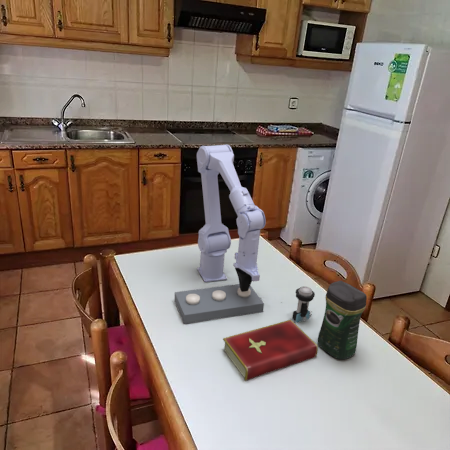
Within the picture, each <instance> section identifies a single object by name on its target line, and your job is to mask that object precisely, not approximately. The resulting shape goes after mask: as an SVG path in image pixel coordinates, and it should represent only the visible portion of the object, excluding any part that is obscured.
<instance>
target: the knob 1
mask: <svg viewBox="0 0 450 450" xmlns="http://www.w3.org/2000/svg"><path fill="white" fill-rule="evenodd" d="M186 302H187V303H188V304H189V305H196V304H198V303H199V302H200V296H199V295H197V294H188V295H187V296H186Z"/></svg>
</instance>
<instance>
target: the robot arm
mask: <svg viewBox="0 0 450 450" xmlns="http://www.w3.org/2000/svg"><path fill="white" fill-rule="evenodd" d="M234 160H235V154H234V151H233V149H232V147H231V145H229V144H226V143H225V144H217V145H201V146H199V148H198V150H197V152H196V162H197V163H196V164H197V172H198V173H200V177H201V185H202V187H201V188H202V196H203V197H202V198H203V210H204V220H205V224H204V225H203V227H201V228H200V229H199V230H198V239H197V245H198V249H199V251H200V254H199V257H200V259H199V266H198V267H197V268H196V269H197V271H198V273H199V275H200V277H201V279H202V280H203V282H204V283H208V282H209V283H210V282H217V281H225V280H227V279H228V277H227V275H226V274H225V272H224V271H225V270H224V269H225V268H224V267H225V254H226V253H227V251H228V250H230V248H231V246H232V245H231V244H232V238H231V235H230V232H229V228H228V227H227V226H226V225H224V223H222V215H221V204H220V203H221V202H220V201H221V200H220V190H219V181H218V175H219V174H220V175H221V177H222V179H223V180H224V183H225V185H226V186H227V187H228V189H229V191H230V192H229V193H230V194H229V195H228V198H229V200H230V202H231V205H232V207H233V209H234V212H235V214H236V216H237V218H236V219H235V220H236V225H237V234H238V236H239V238H238V246H237V247H238V249H237V252H234V259H235V262H233V264H232V266H233V267H234V269H235V273H236V274H237V278H238V284H239V285H240V290H241V291H242V292H244V291H248V290H249V287H250V286H251V284H252V283H253V282H259V281H260V278H261V277H260V276H261V275H260V273H259V268H258V263H257V262H258V254H259V245H260V237H261V236H260V235H261V230H262V229H264V228H265V226H266V223H267V222H266V221H267V220H266V219H267V218H266V216H265V212H264V210H262V209H261V208H259V207H258V205H255V203H254V201H253V198H252V197H251V194H250V192H249V191H248V189H247V187H243V186H242V185H241V182H240V179H239V176H238V173H237V171H236V169H235V166H234Z"/></svg>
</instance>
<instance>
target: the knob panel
mask: <svg viewBox="0 0 450 450" xmlns="http://www.w3.org/2000/svg"><path fill="white" fill-rule="evenodd" d="M238 288H240V285H239V283H237V284H236V283H235V284H228V285H221V286H219V285H218V286H212V287H205V288H198V289H196V288H195V289H189V290H182V291H174V302H175V306H176V307H177V310H178V313H179V316H180V317H181V319H182V322H183V325H189V324H194V323H200V322H207V321H213V320H221V319H225V318H226V319H227V318H232V317H233V318H234V317H238V316H239V317H240V316H245V315H252V314H257V313H258V314H259V313H263V312H264V307H265V303H264V301H263V300H262V299H261V297H260V295H258V293H257V292H256V291H255V290H254V288H253V287H252V286H251V285H250V287H249V289H250V290H251V294H250V296H249V297H245V298H244V297H240V296H238V294H237V291H238ZM216 290H221V291H224V292H225V293H226V298H225V300H223V301H215V300H214V299H213V298H212V293H213V292H214V291H216ZM188 294H197V295H199V296H200V302H199V303H198V304H196V305H189V304H188V303H187V302H186V296H187V295H188Z"/></svg>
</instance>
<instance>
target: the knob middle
mask: <svg viewBox="0 0 450 450" xmlns="http://www.w3.org/2000/svg"><path fill="white" fill-rule="evenodd" d="M212 298H213V299H214V300H215V301H223V300H225V298H226V293H225V292H224V291H221V290H216V291H214V292H213V293H212Z"/></svg>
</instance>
